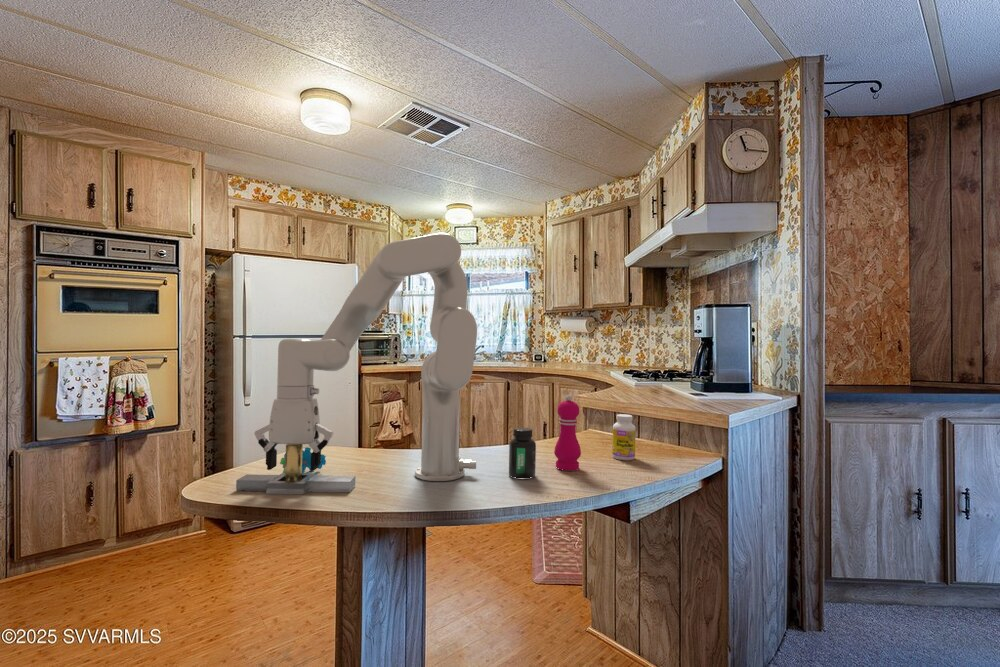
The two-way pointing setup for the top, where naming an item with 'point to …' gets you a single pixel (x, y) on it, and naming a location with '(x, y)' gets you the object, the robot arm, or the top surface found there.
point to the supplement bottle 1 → (522, 454)
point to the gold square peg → (293, 462)
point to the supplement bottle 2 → (624, 438)
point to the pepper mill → (567, 436)
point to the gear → (305, 460)
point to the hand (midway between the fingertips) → (293, 468)
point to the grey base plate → (295, 484)
